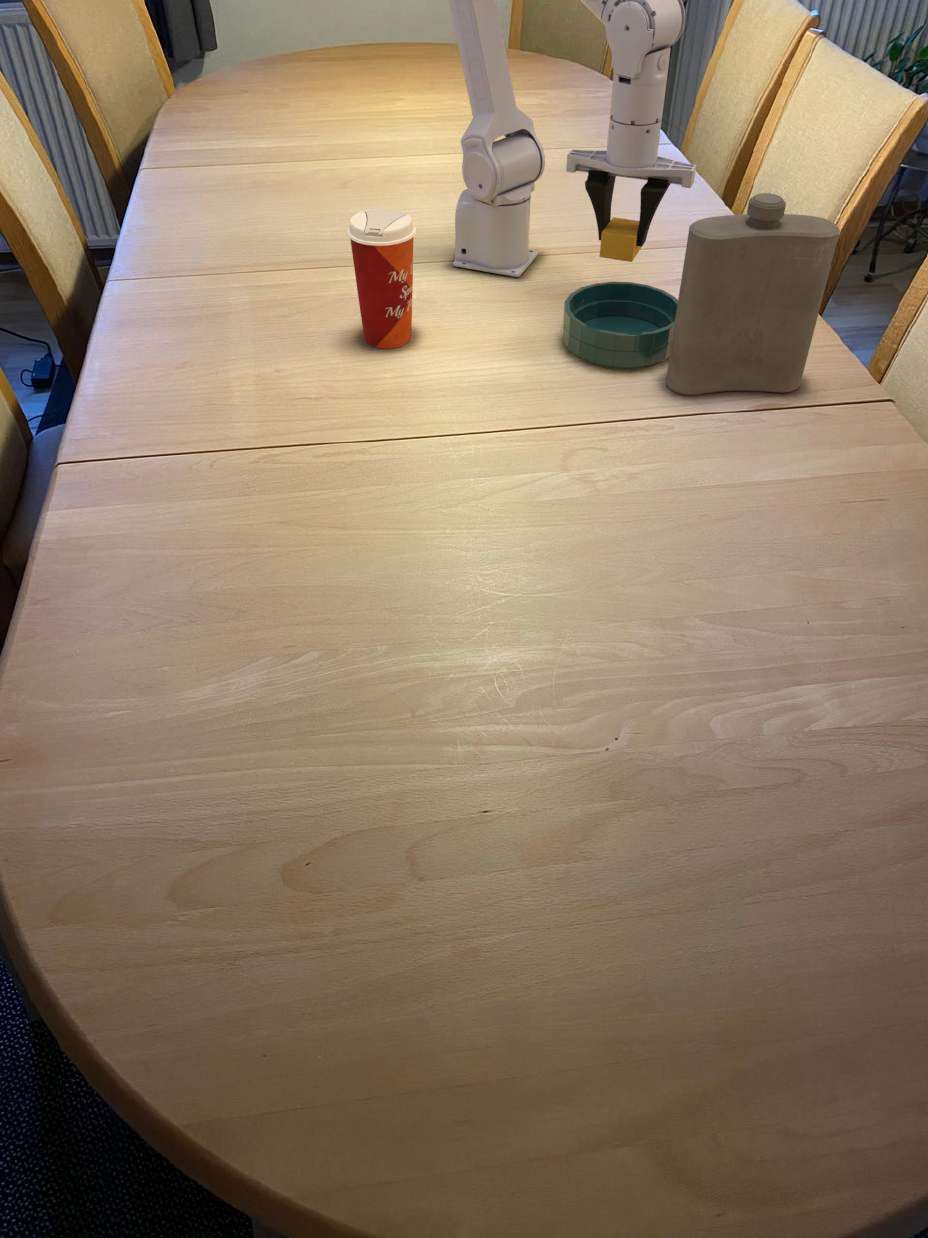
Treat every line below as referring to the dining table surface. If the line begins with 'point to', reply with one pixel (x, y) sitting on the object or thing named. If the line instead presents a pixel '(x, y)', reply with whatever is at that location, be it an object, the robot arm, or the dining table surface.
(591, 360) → the bowl
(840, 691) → the dining table surface
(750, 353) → the flask
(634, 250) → the yellow block
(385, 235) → the paper cup
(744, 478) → the dining table surface
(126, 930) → the dining table surface
